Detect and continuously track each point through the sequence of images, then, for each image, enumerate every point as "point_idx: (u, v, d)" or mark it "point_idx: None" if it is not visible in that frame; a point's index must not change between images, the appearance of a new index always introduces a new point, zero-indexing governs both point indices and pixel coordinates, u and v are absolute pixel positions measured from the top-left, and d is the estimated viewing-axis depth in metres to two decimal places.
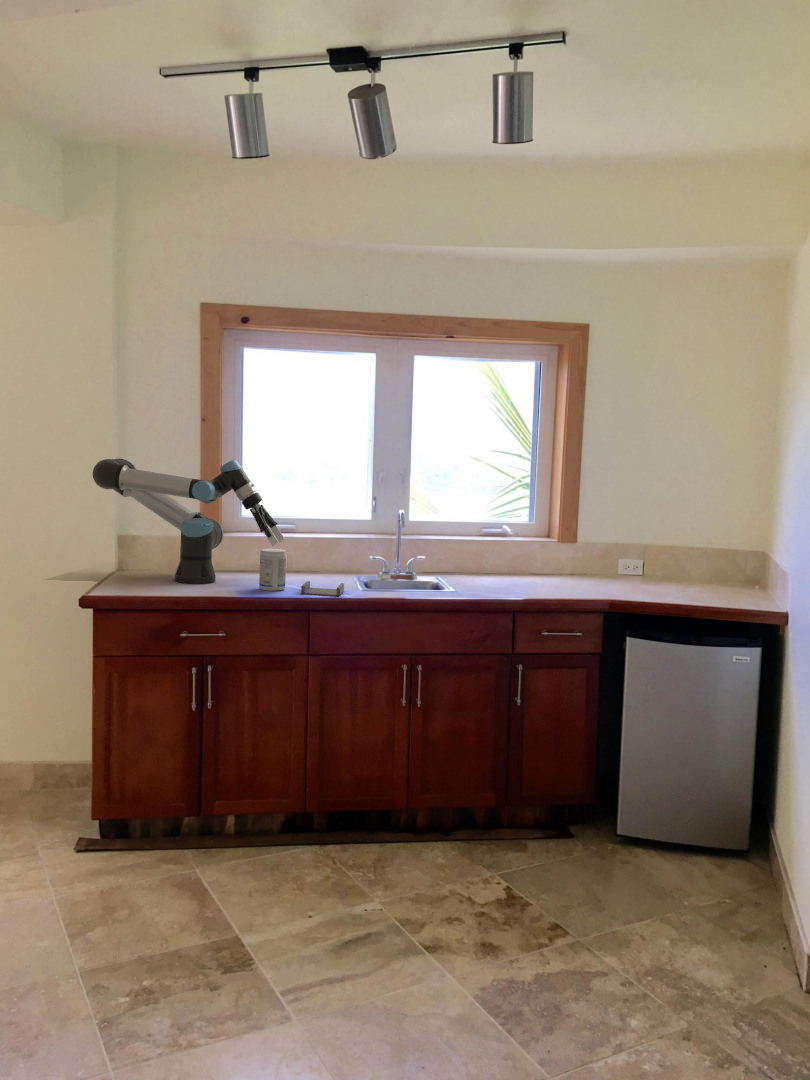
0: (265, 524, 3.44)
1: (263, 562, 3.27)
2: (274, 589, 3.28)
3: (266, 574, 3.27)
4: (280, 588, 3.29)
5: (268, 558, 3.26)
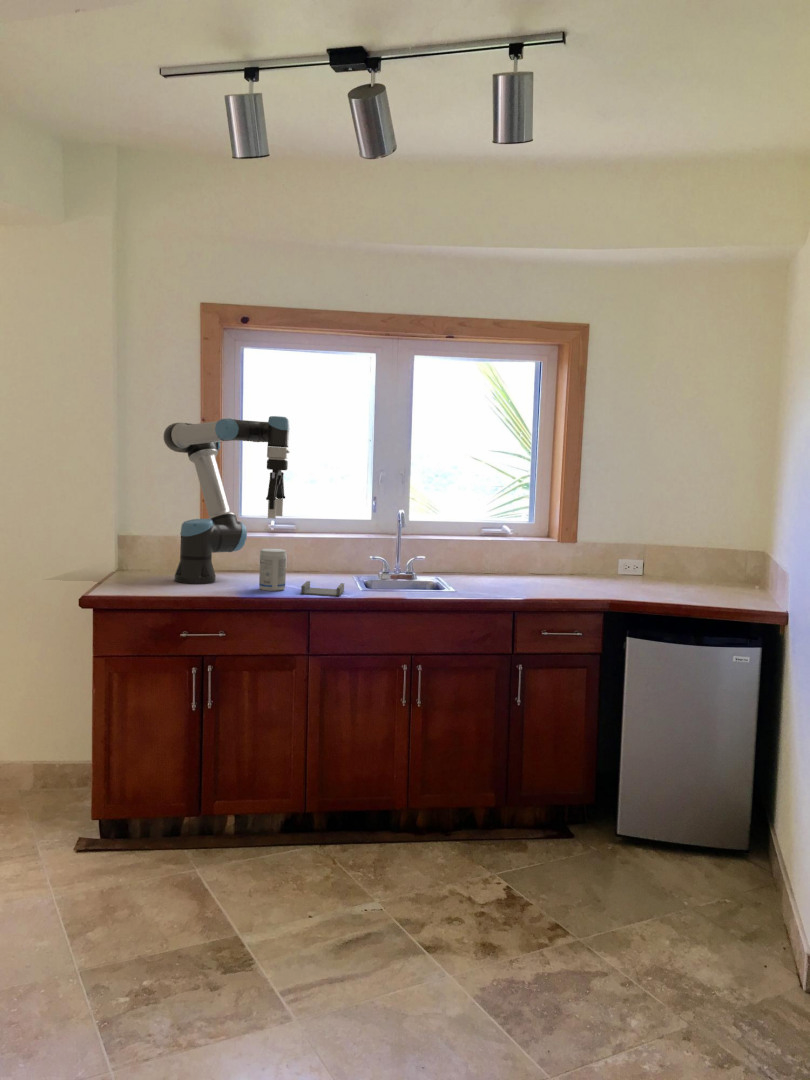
0: (274, 495, 3.21)
1: (263, 562, 3.27)
2: (274, 589, 3.28)
3: (266, 574, 3.27)
4: (280, 588, 3.29)
5: (268, 558, 3.26)
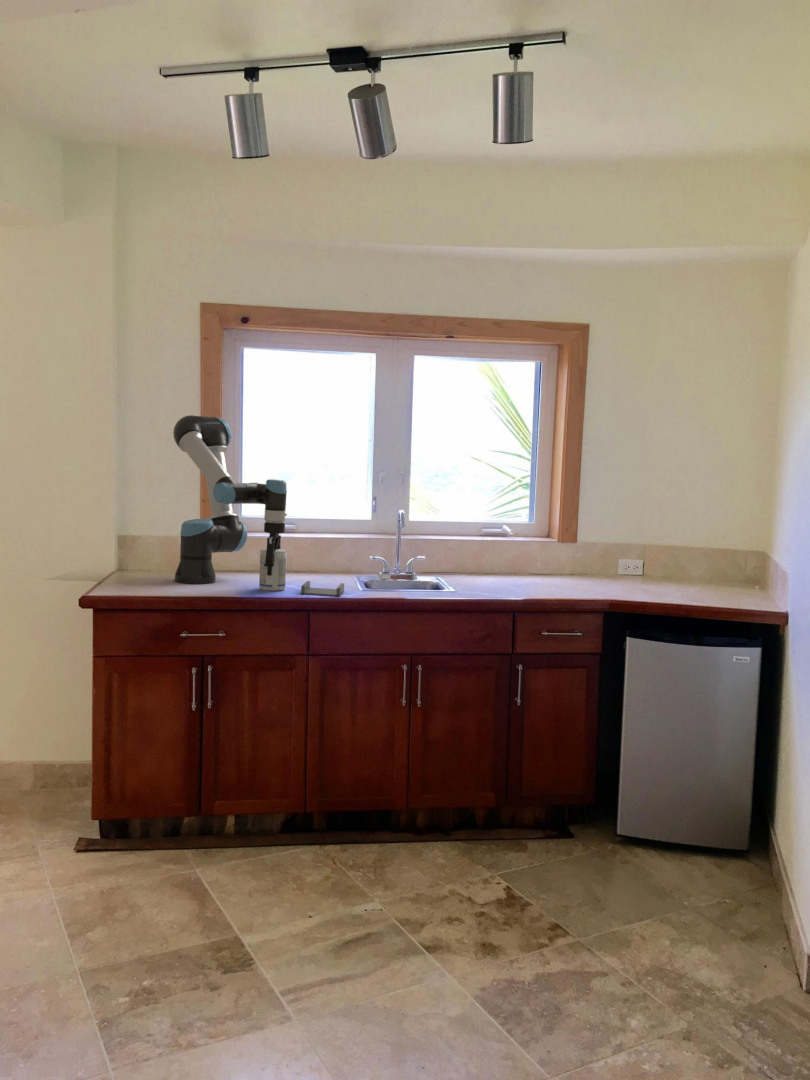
0: (272, 562, 3.25)
1: (263, 562, 3.27)
2: (274, 589, 3.28)
3: None
4: (280, 588, 3.29)
5: None
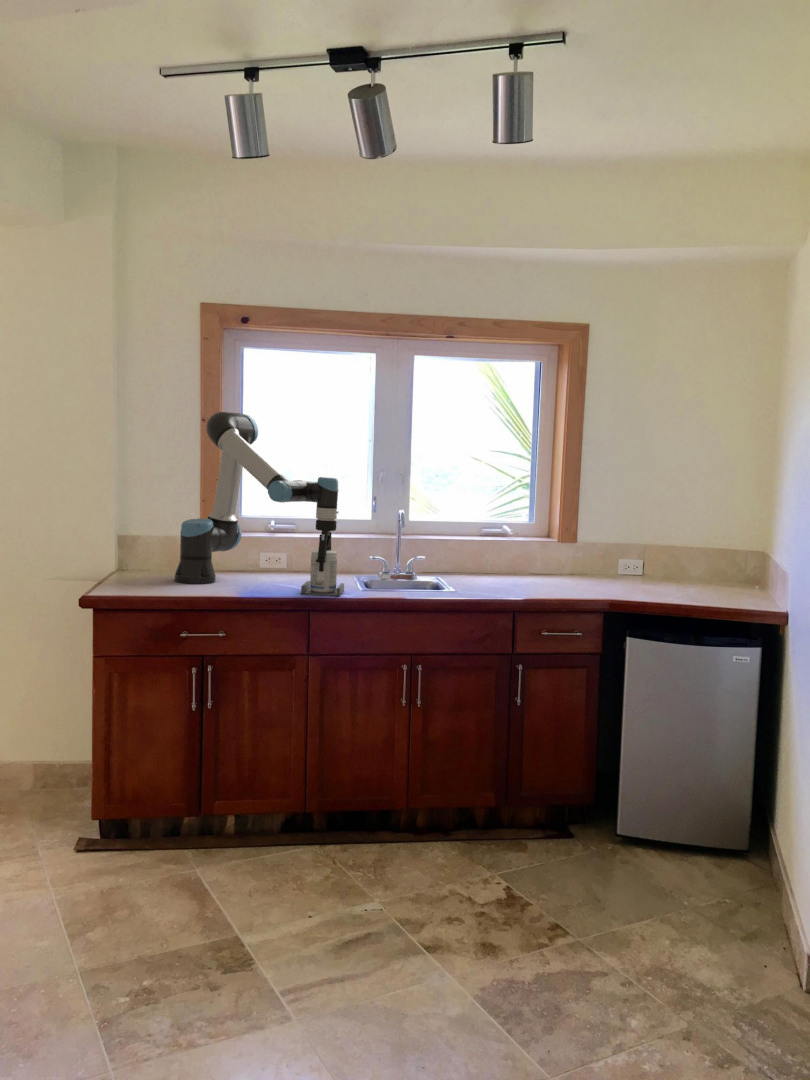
0: (324, 557, 3.22)
1: (314, 563, 3.26)
2: (326, 591, 3.26)
3: None
4: (331, 590, 3.27)
5: None
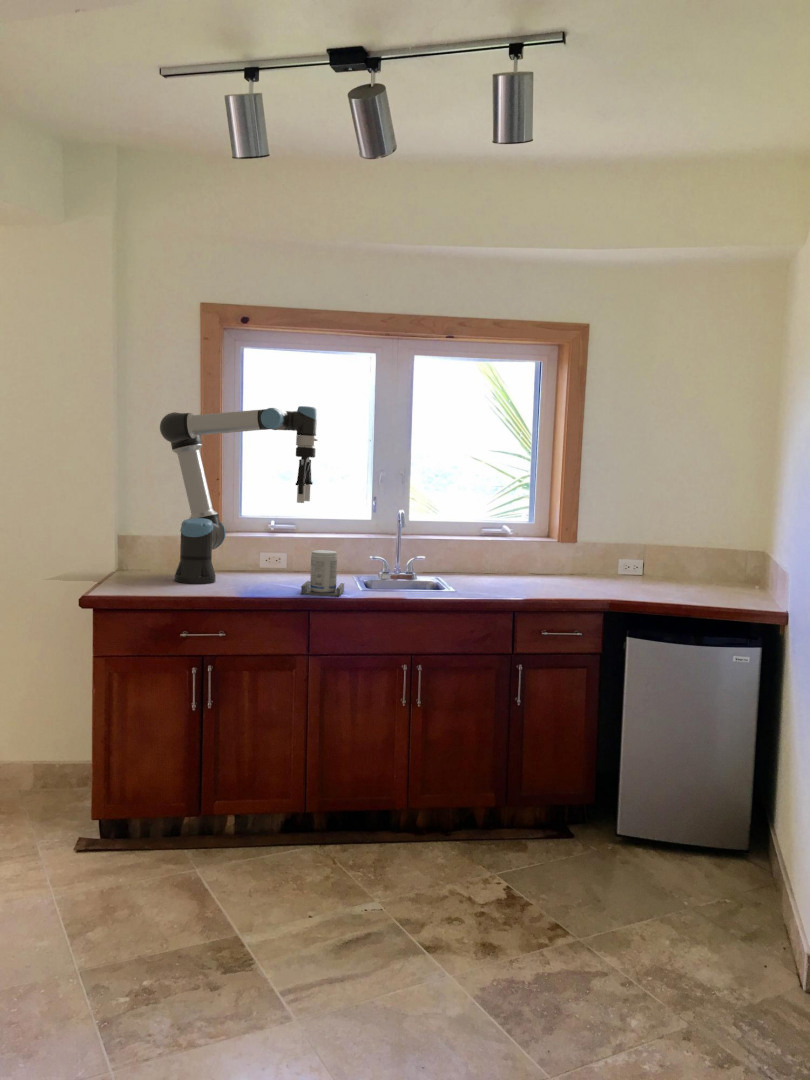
0: (303, 481, 3.40)
1: (314, 563, 3.26)
2: (326, 591, 3.26)
3: (318, 575, 3.25)
4: (331, 590, 3.27)
5: (320, 560, 3.25)
